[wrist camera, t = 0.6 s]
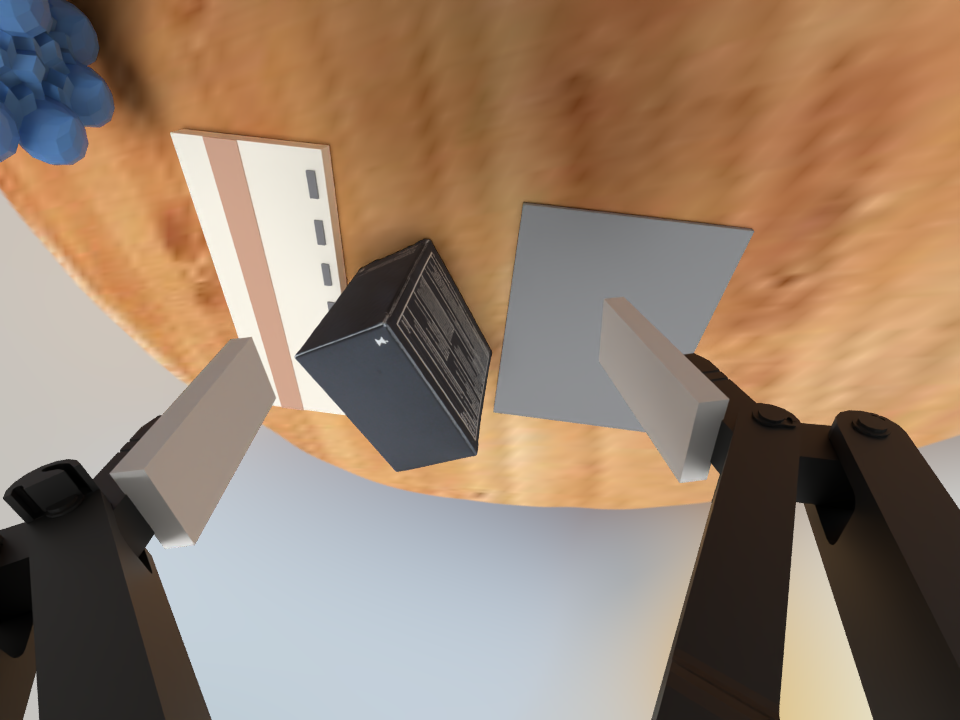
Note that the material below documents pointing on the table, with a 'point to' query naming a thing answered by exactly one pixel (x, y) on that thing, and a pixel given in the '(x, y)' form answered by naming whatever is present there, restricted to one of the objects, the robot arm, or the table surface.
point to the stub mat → (580, 297)
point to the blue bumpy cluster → (49, 81)
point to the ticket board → (270, 245)
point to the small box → (404, 359)
